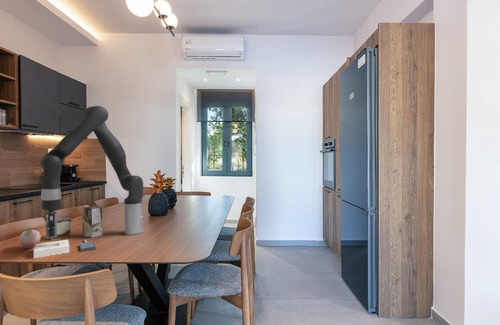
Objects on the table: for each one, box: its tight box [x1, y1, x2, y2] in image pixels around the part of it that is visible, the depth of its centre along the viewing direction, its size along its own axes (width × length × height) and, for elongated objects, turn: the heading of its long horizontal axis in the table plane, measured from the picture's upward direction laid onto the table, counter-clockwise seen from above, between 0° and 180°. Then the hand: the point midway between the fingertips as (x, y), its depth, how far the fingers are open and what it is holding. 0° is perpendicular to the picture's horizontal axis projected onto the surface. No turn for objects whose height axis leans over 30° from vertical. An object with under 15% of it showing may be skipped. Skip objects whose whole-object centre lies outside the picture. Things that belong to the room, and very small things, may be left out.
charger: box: [45, 221, 57, 239], centre depth 132 cm, size 4×4×7 cm
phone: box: [78, 239, 97, 253], centre depth 141 cm, size 6×19×1 cm, turn 35°
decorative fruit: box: [18, 227, 42, 249], centre depth 137 cm, size 9×8×10 cm
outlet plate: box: [33, 239, 70, 259], centre depth 132 cm, size 13×13×3 cm
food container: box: [49, 217, 73, 241], centre depth 156 cm, size 12×6×10 cm, turn 149°
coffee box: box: [81, 205, 103, 239], centre depth 159 cm, size 9×6×16 cm
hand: (51, 235), depth 132 cm, fingers closed on charger, 4 cm apart
